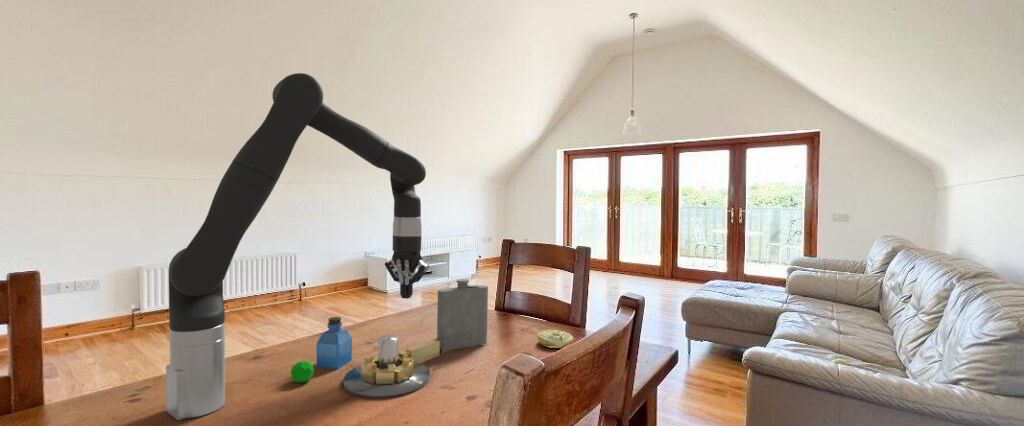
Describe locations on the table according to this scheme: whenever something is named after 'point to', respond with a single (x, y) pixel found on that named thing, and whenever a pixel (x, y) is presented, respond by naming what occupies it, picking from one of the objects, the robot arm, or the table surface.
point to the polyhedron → (302, 371)
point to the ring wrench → (400, 363)
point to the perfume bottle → (334, 346)
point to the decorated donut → (555, 338)
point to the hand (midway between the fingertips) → (406, 297)
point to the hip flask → (462, 315)
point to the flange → (386, 356)
